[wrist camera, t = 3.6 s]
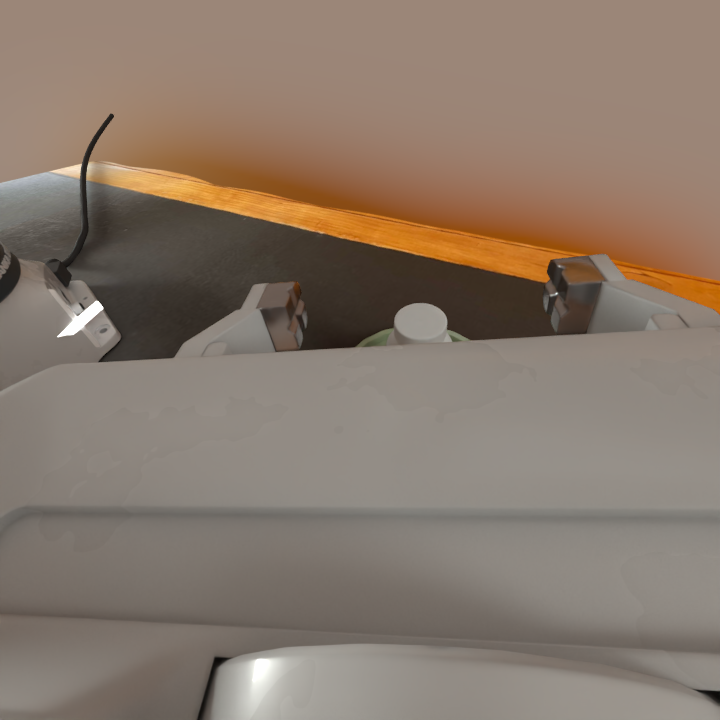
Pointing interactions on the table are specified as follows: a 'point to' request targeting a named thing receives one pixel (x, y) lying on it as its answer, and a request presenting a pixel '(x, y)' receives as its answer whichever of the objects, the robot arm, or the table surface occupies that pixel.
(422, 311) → the pill bottle
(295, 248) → the table surface
